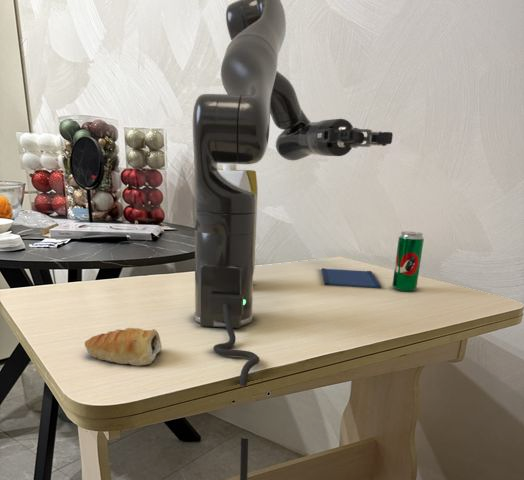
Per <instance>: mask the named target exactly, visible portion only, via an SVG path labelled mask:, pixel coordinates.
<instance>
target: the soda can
mask: <svg viewBox="0 0 524 480" xmlns="http://www.w3.org/2000/svg"><path fill="white" fill-rule="evenodd" d="M423 235H424V234H423V232H419V231H418V232H417V231H411V230H410V231H406V230H405V231H401V233H400V235H399V236H398V240H397V248H396V255H395V263H394V269H393V276H392V285H391V286H392V288H393V289H394V290H396V291H398V292H403V293H404V292H405V293H407V292H408V293H409V292H414V291H415V290H416V289H417V288H418V282H419V281H418V280H419V274H420V267H421V261H422V254H423V246H424V240H425V239H424V236H423Z"/></svg>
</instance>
